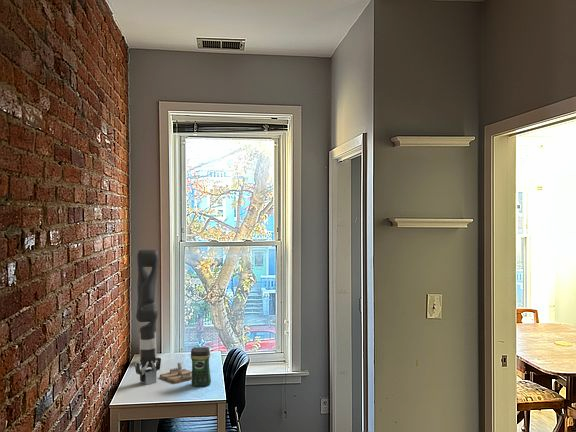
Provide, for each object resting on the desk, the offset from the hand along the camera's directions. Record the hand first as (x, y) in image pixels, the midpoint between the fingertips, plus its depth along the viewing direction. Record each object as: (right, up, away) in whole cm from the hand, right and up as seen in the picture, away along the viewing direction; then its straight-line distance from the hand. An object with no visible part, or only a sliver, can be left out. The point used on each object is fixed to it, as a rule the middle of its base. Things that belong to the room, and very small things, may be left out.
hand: (148, 380), depth 287 cm
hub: (0, -1, 0) cm, 1 cm away
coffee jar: (+27, -1, -5) cm, 28 cm away
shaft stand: (+14, -1, +8) cm, 17 cm away
